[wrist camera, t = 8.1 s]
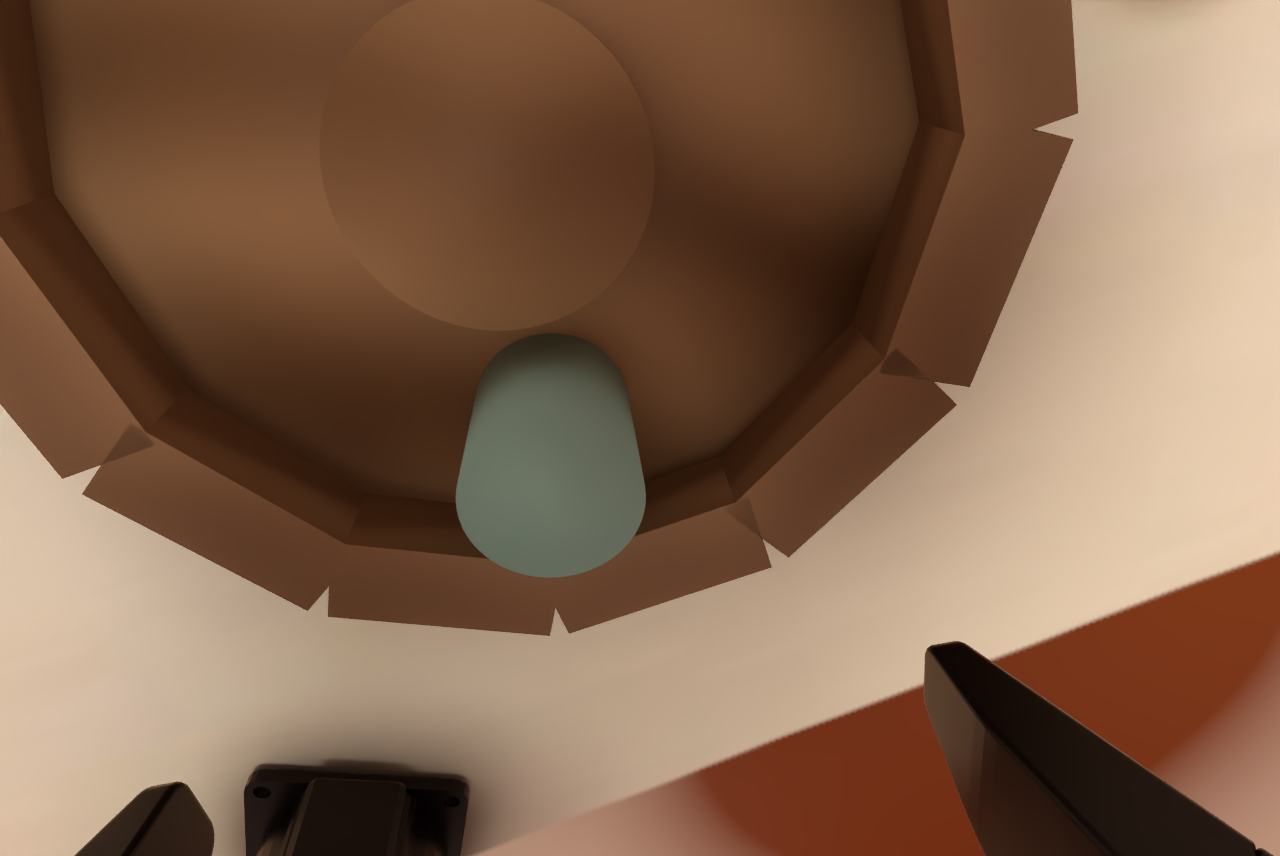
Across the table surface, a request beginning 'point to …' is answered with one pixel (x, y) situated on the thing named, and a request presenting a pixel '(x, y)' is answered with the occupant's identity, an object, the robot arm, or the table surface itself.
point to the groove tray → (505, 263)
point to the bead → (551, 459)
